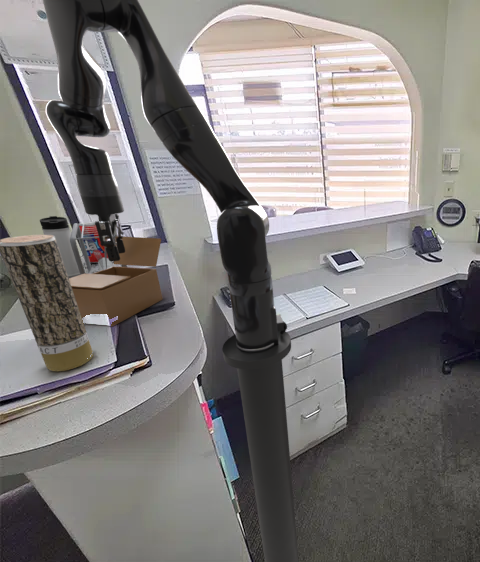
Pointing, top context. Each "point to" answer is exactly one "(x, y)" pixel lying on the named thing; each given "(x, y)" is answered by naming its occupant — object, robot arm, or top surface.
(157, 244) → the flap
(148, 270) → the carton
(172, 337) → the top surface
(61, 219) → the travel mug
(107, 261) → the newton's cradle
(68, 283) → the paper tube
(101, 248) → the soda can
